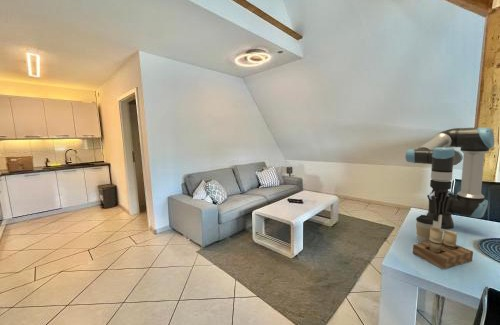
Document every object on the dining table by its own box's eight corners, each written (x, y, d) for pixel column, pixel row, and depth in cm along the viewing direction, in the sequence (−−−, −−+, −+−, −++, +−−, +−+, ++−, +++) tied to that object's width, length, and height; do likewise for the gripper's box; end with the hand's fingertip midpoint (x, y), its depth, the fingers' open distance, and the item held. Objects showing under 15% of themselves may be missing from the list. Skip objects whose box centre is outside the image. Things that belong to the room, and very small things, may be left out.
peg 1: (432, 248, 109) (434, 226, 107) (443, 253, 104) (446, 230, 103) (425, 249, 107) (427, 227, 106) (436, 255, 103) (438, 231, 101)
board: (439, 246, 117) (440, 238, 116) (472, 261, 104) (473, 251, 103) (412, 253, 112) (413, 244, 111) (442, 269, 98) (443, 259, 98)
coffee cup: (438, 246, 118) (440, 220, 116) (420, 245, 119) (422, 219, 117) (428, 238, 126) (430, 214, 124) (411, 237, 128) (413, 213, 126)
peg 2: (446, 251, 112) (448, 229, 110) (457, 256, 107) (459, 233, 106) (439, 252, 111) (441, 231, 109) (450, 257, 106) (452, 235, 104)
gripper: (441, 177, 106) (437, 222, 109) (422, 179, 103) (419, 225, 106) (459, 180, 99) (455, 228, 102) (439, 182, 96) (435, 232, 99)
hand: (436, 227), depth 104 cm, fingers closed
